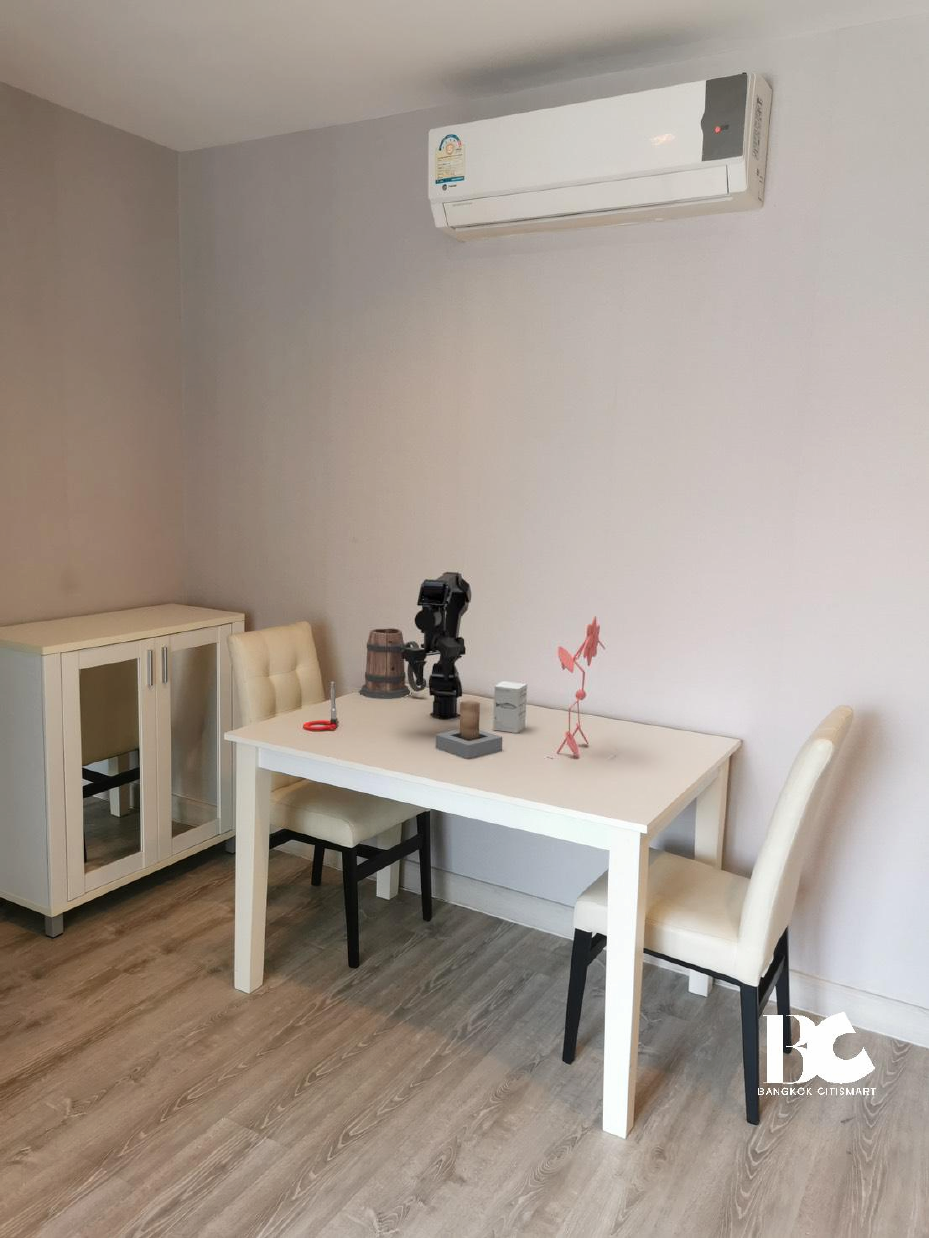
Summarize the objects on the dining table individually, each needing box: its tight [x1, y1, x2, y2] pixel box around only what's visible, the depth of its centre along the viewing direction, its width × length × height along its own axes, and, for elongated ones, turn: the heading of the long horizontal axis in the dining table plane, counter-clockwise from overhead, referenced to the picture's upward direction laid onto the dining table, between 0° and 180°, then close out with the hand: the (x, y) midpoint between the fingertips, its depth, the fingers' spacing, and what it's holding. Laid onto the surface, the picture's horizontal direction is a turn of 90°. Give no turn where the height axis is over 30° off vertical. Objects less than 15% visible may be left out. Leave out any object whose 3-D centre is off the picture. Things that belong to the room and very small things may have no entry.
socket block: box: [435, 728, 503, 760], centre depth 238 cm, size 12×12×4 cm
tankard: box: [358, 627, 427, 700], centre depth 293 cm, size 24×17×20 cm
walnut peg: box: [459, 700, 481, 741], centre depth 238 cm, size 5×5×12 cm
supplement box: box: [492, 680, 528, 734], centre depth 257 cm, size 7×7×13 cm
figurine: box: [546, 615, 616, 760], centre depth 235 cm, size 15×26×35 cm, turn 158°
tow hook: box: [302, 681, 340, 732], centre depth 254 cm, size 8×13×9 cm
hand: (433, 682), depth 254 cm, fingers open, 9 cm apart
